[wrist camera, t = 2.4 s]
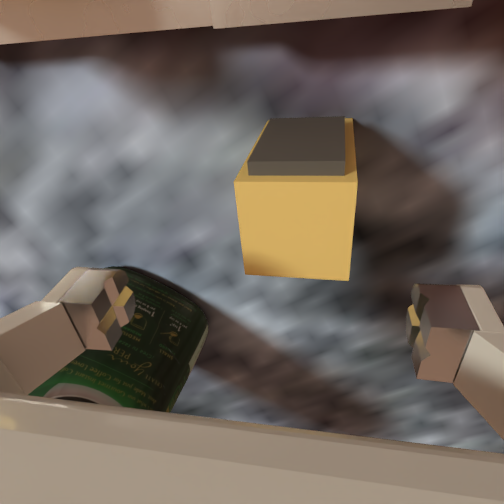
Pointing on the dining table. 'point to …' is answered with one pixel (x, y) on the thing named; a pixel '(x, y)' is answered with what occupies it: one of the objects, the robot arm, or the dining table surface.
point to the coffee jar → (138, 354)
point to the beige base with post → (180, 14)
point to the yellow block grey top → (299, 199)
